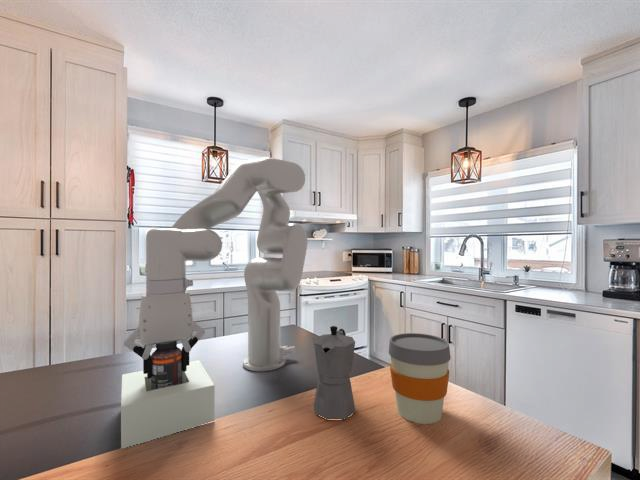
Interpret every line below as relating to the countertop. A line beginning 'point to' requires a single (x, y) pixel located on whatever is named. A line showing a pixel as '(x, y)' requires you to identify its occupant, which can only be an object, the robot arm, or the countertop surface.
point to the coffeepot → (334, 374)
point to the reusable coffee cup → (419, 375)
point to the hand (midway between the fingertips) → (166, 371)
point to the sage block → (165, 405)
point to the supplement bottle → (166, 365)
